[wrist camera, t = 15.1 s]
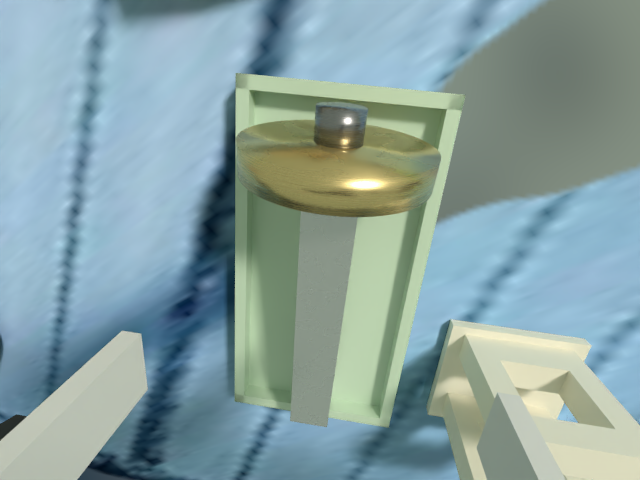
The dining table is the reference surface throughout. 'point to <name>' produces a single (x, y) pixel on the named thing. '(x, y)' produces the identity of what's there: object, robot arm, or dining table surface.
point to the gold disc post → (330, 218)
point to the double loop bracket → (532, 399)
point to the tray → (366, 265)
